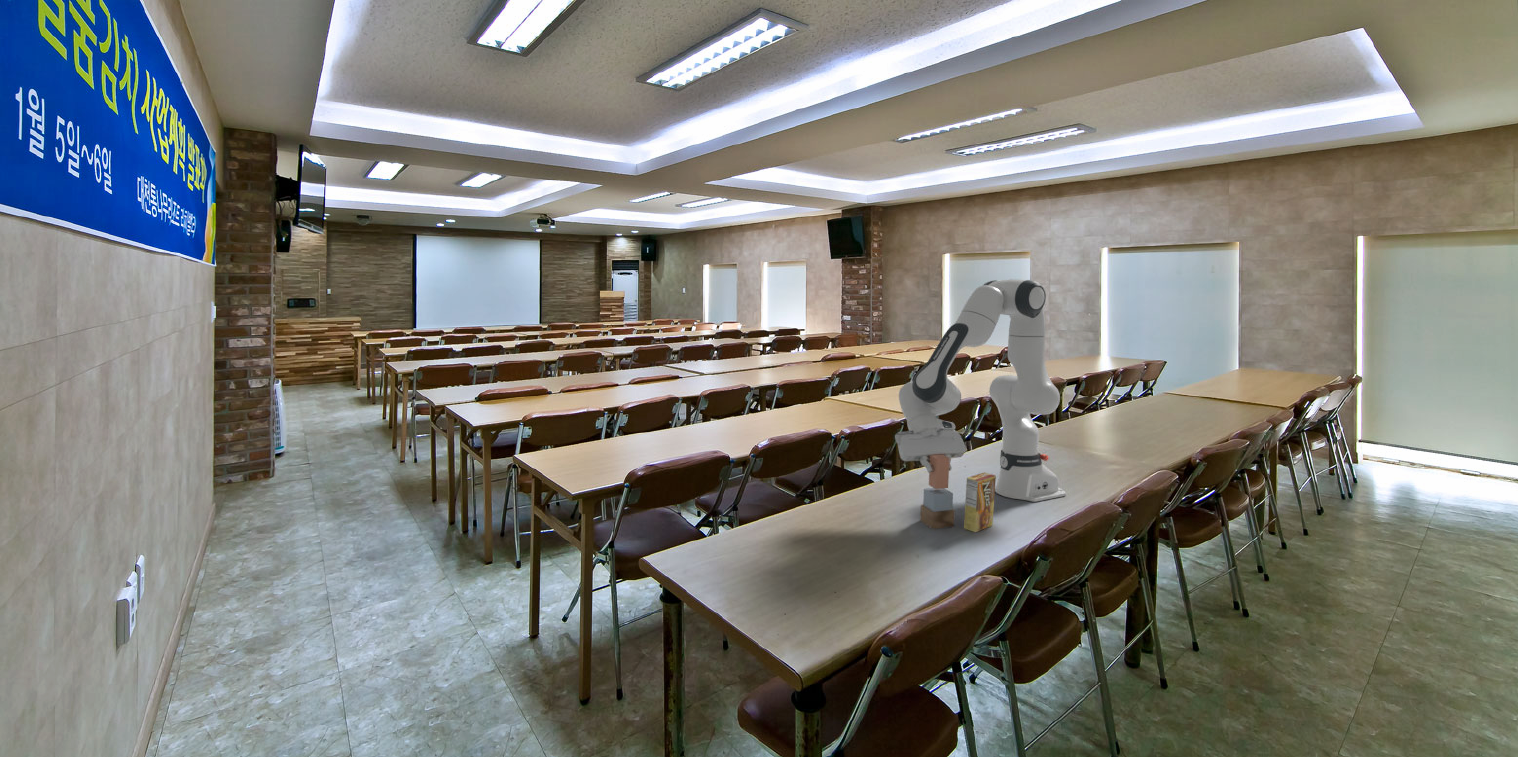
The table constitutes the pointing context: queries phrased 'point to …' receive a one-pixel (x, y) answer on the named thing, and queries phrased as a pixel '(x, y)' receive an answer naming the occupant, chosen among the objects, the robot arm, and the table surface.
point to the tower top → (938, 499)
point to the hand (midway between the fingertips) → (940, 470)
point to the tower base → (937, 518)
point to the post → (939, 471)
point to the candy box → (979, 502)
